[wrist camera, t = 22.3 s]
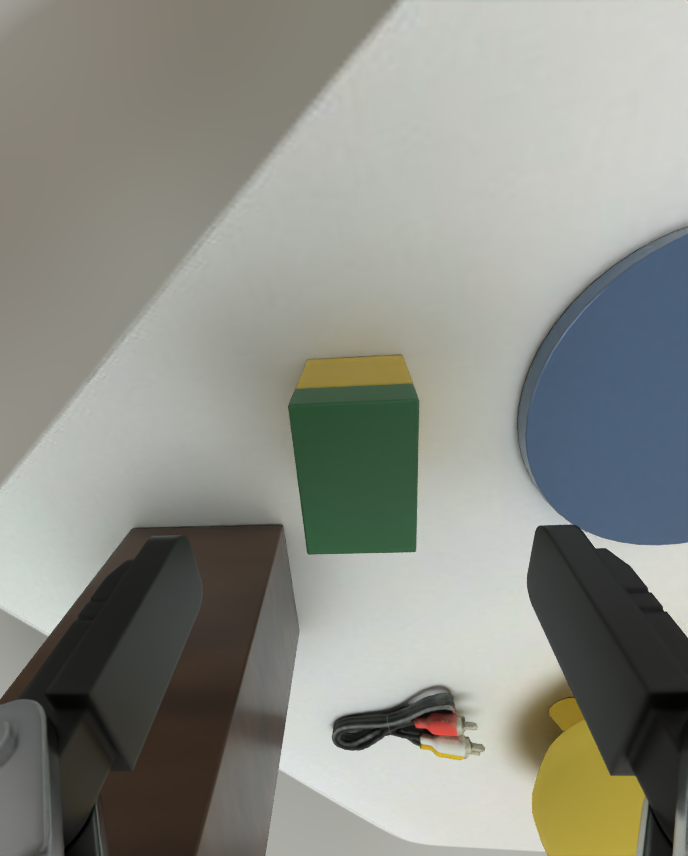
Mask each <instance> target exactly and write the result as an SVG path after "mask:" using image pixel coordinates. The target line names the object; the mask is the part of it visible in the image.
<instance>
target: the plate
mask: <svg viewBox="0 0 688 856" xmlns="http://www.w3.org/2000/svg"><path fill="white" fill-rule="evenodd" d="M518 436H519V446H520V450H521V454H522V458H523V462H524V464H525V466H526V468H527V471H528V473H529V475H530V477H531V479H532V480H533V482H534V483H535V485H536V486H537V488H538V489H539V491H540V492H541V494H542V495H543V496H544V498H545V499H546V501H547V502H548V503H549V504H550V505H551V506H552V507H553V508H554V509H555V510H556V512H557V513H559V514H560V515H561V516H563V517H564V518H565V519H566V520H568V521H569V522H570V523H572V524H574V525H576V526H578V527H579V528H581V529H583V530H584V531H586V532H589V533H592V534H594V535H597V536H599V537H602V538H605V539H609V540H613V541H617V542H622V543H630V544H637V545H669V544H681V543H687V542H688V227H686V228H683V229H681V230H678V231H676V232H673V233H670V234H668V235H666V236H664V237H662V238H660V239H658V240H656V241H654V242H652V243H650V244H648V245H646V246H644V247H642V248H640V249H639V250H637V251H636V252H634V253H633V254H631V255H630V256H628V257H627V258H625V259H624V260H622V261H620V262H619V263H617V264H616V265H614V266H613V267H612V268H611V269H609V270H608V271H607V272H606V273H604V274H603V275H602V276H601V277H600V278H598V279H597V280H596V281H595V282H593V283H592V284H591V285H590V286H589V287H588V288H587V289H586V290H585V291H584V292H583V293H582V294H581V295H580V296H579V297H578V298H577V299H576V300H575V301H574V302H573V303H572V304H571V305H570V306H569V308H568V309H567V310H566V311H565V313H564V314H563V315H562V316H561V317H560V319H559V320H558V321H557V322H556V324H555V325H554V327H553V328H552V330H551V331H550V333H549V334H548V336H547V337H546V339H545V340H544V342H543V343H542V345H541V347H540V349H539V351H538V353H537V355H536V357H535V359H534V361H533V363H532V365H531V367H530V370H529V373H528V376H527V378H526V381H525V384H524V387H523V391H522V396H521V401H520V405H519V416H518Z"/></svg>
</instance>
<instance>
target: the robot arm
mask: <svg viewBox="0 0 688 856" xmlns="http://www.w3.org/2000/svg"><path fill="white" fill-rule="evenodd" d="M527 588H528V593H529V598H530V601H531V604H532V606H533V608H534V610H535V613H536V615H537V617H538V619H539V621H540V623H541V626H542V628H543V630H544V632H545V634H546V637H547V639H548V641H549V643H550V645H551V647H552V650H553V652H554V654H555V656H556V658H557V660H558V663H559V665H560V667H561V669H562V671H563V673H564V676H565V678H566V680H567V682H568V684H569V687H570V689H571V691H572V693H573V695H574V697H575V700H576V702H577V704H578V706H579V708H580V710H581V713H582V715H583V717H584V719H585V721H586V723H587V726H588V728H589V730H590V732H591V734H592V736H593V739H594V741H595V743H596V745H597V747H598V750H599V752H600V754H601V756H602V758H603V760H604V763H605V765H606V767H607V769H608V771H609V773H610V776H636V778H637V780H638V782H639V784H640V786H641V788H642V790H643V792H644V794H645V798H644V800H643V804H642V810H641V818H640V826H639V834H638V842H637V850H636V856H688V638H687V636H686V635H685V634H684V633H683V631H682V630H681V629H680V628H679V626H678V625H677V624H676V623H675V621H674V620H673V619H672V618H671V616H670V615H669V614H668V613H667V612H664V611H663V606H662V605H661V604H660V603H659V601H658V600H657V599H656V598H655V596H654V595H653V594H652V593H649V592H648V588H647V586H646V585H645V584H644V583H643V581H642V580H641V579H640V578H639V577H638V575H637V574H636V573H635V572H634V570H633V569H632V568H631V567H630V566H629V565H628V564H626V563H625V562H624V561H622V560H621V559H620V558H618V557H617V556H615V555H614V554H613V553H611V552H610V551H609V550H607V549H606V548H598V549H595V548H594V546H593V545H592V543H591V542H590V541H589V539H588V538H587V537H586V535H585V534H584V533H583V531H582V530H581V529H580V528H579V527H578V526H576V525H547V526H538V527H537V529H536V531H535V536H534V541H533V546H532V552H531V557H530V563H529V568H528V573H527ZM202 596H203V585H202V580H201V577H200V573H199V570H198V567H197V563H196V560H195V557H194V554H193V550H192V547H191V544H190V541H189V539H188V537H187V536H185V535H171V536H152V537H150V538H149V539H148V540H147V541H146V543H145V544H144V546H143V547H142V549H141V550H140V552H139V553H138V554H137V556H136V557H135V559H133V560H126V561H125V562H124V563H122V564H121V565H120V566H119V567H118V568H116V569H115V570H114V571H113V572H111V573H110V574H109V575H108V576H107V577H106V578H105V579H104V580H103V582H102V583H101V584H100V586H99V587H98V589H97V590H96V591H95V593H94V594H93V596H92V597H91V601H90V602H88V603H87V604H86V605H85V607H84V608H83V609H82V611H81V612H80V614H79V615H78V620H75V621H74V622H73V623H72V625H71V626H70V628H69V629H68V630H67V632H66V633H65V635H64V636H63V637H62V639H61V640H60V641H59V643H58V644H57V646H56V647H55V648H54V650H53V651H52V653H51V654H50V655H49V657H48V658H47V660H46V661H45V662H44V664H43V665H42V666H41V668H40V669H39V671H38V672H37V673H36V675H35V676H34V678H33V679H32V680H31V682H30V683H29V685H28V686H27V687H26V689H25V690H24V691H23V693H22V694H21V695H20V696H19V698H18V699H17V700H15V701H11V702H8V703H5V704H2V705H0V856H110V854H109V846H108V839H107V831H106V824H105V816H104V808H103V801H102V797H101V794H100V791H101V789H102V787H103V784H104V782H105V780H106V778H107V776H108V773H109V771H133V770H134V767H135V765H136V762H137V760H138V757H139V755H140V753H141V750H142V748H143V745H144V743H145V741H146V738H147V736H148V733H149V731H150V728H151V726H152V724H153V721H154V719H155V716H156V714H157V712H158V709H159V707H160V704H161V702H162V699H163V697H164V695H165V692H166V690H167V687H168V685H169V682H170V680H171V678H172V675H173V673H174V670H175V668H176V666H177V663H178V661H179V658H180V656H181V653H182V651H183V649H184V646H185V644H186V641H187V639H188V637H189V634H190V632H191V629H192V627H193V624H194V622H195V620H196V617H197V615H198V612H199V610H200V607H201V603H202Z"/></svg>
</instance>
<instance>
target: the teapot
mask: <svg viewBox="0 0 688 856" xmlns="http://www.w3.org/2000/svg"><path fill="white" fill-rule="evenodd" d="M549 715H550V717H551V718H552V719H553V720H554V721H555V722H556V723H557V725H558V726H559V727H560V728H561V729H562V730H563V731H564V732H563V733H562V734H561V735H560V736H559V737H558V738H556V739H555V740H554V742H553V743H552V744H551V745H550V747H549V748H548V750H547V752H546V754H545V756H544V759H543V761H542V764H541V766H540V769H539V772H538V775H537V778H536V782H535V785H534V789H533V793H532V813H533V817H534V821H535V824H536V827H537V830H538V833H539V836H540V840H541V842H542V844H543V847H544V849H545V851H546V853H547V856H636V850H637V842H638V834H639V826H640V818H641V810H642V804H643V800H644V798H645V794H644V792H643V790H642V788H641V786H640V784H639V782H638V780H637V778H636V776H610V773H609V771H608V769H607V767H606V765H605V763H604V760H603V758H602V756H601V754H600V752H599V750H598V747H597V745H596V743H595V741H594V739H593V736H592V734H591V732H590V730H589V728H588V726H587V723H586V721H585V719H584V717H583V715H582V713H581V710H580V708H579V706H578V704H577V702H576V700H575V698H567V699H563V700H560V701H558V702H556V703H555V704H553V705H552V706H551V708H550V710H549Z"/></svg>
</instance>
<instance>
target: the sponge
mask: <svg viewBox="0 0 688 856" xmlns="http://www.w3.org/2000/svg"><path fill="white" fill-rule="evenodd" d="M288 409H289V417H290V425H291V432H292V440H293V447H294V455H295V463H296V470H297V478H298V486H299V493H300V501H301V509H302V516H303V524H304V531H305V539H306V547H307V553H308V554H348V553H394V552H415V551H416V534H417V483H418V433H419V399H418V396H417V393H416V390H415V388H414V385H413V382H412V380H411V377H410V374H409V371H408V368H407V365H406V363H405V360H404V357H403V355H392V356H372V357H352V358H332V359H312V360H307V362H306V365H305V367H304V369H303V372H302V374H301V377H300V379H299V382H298V384H297V386H296V389H295V391H294V393H293V395H292V398H291V400H290V403H289V405H288Z"/></svg>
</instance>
